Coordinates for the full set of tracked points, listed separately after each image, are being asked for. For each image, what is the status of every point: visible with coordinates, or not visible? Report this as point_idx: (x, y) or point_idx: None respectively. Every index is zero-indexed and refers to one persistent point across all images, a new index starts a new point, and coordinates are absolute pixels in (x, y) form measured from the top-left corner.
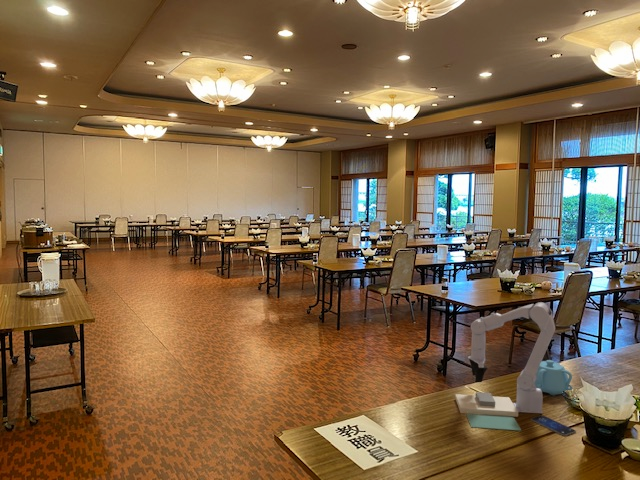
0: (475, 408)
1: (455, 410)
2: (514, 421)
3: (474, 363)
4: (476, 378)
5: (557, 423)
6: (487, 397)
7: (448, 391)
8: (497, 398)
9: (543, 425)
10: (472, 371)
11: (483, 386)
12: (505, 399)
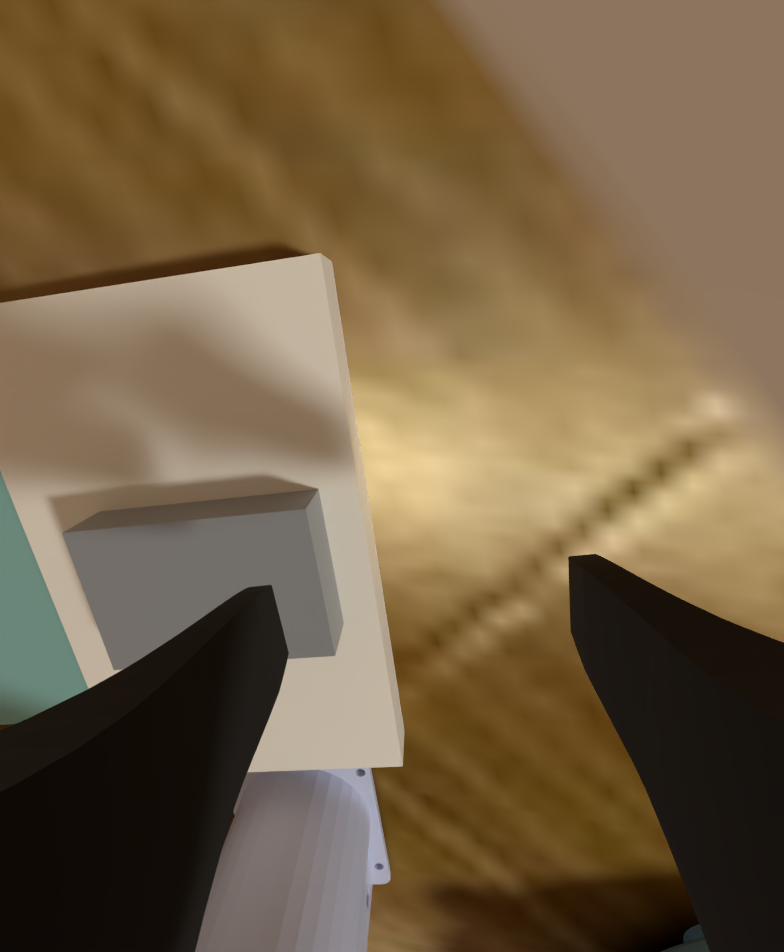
0: (12, 466)
1: (21, 260)
2: (39, 712)
3: (720, 793)
4: (208, 619)
5: None
6: (194, 614)
7: (539, 166)
8: (344, 678)
9: None
10: (596, 583)
11: (752, 580)
12: (344, 733)
